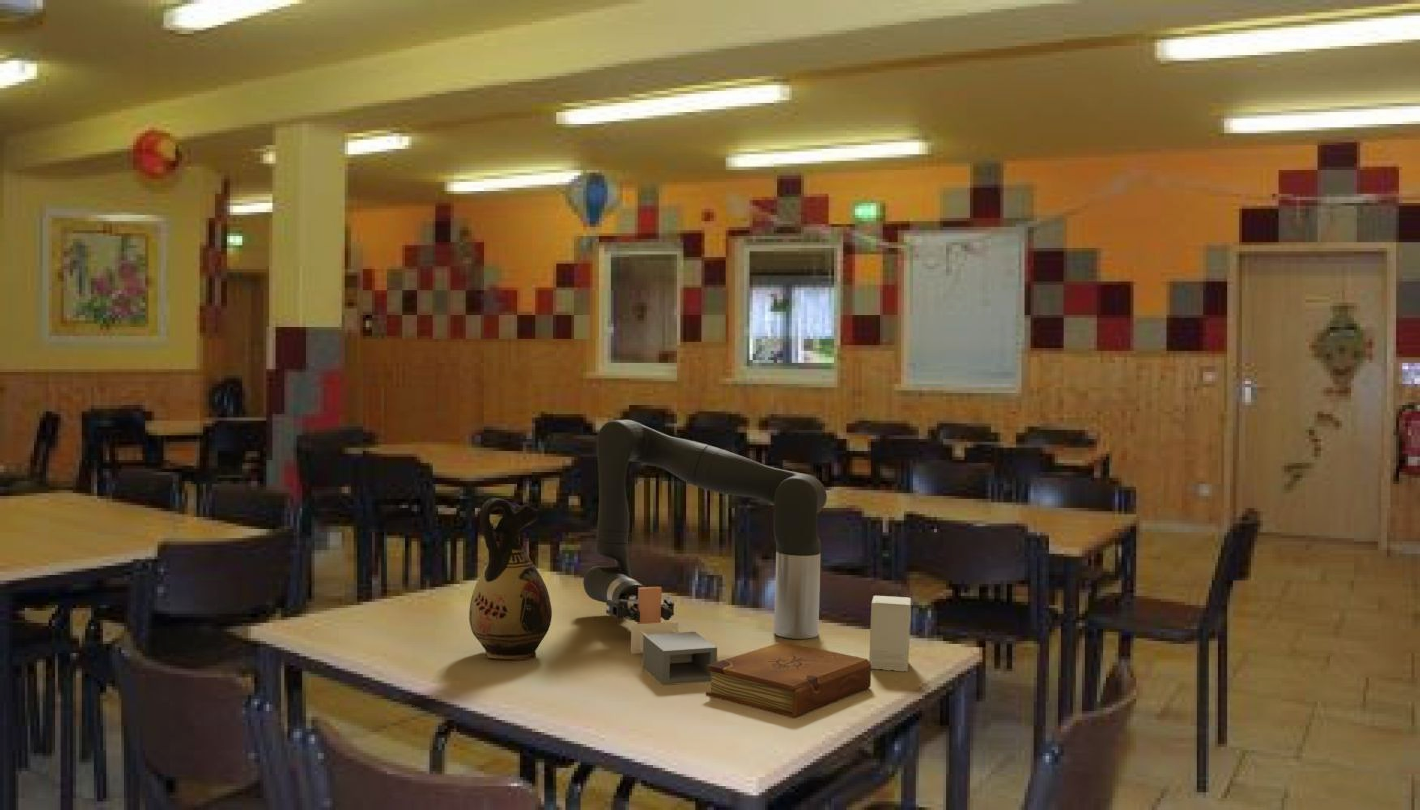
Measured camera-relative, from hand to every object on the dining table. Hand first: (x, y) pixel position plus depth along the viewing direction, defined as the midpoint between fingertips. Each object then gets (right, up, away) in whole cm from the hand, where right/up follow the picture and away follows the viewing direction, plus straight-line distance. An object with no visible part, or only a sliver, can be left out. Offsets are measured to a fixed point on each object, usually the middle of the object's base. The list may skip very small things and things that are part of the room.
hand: (653, 616), depth 225 cm
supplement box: (+45, -9, -5) cm, 46 cm away
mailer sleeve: (+5, -8, -15) cm, 17 cm away
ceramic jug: (-28, -7, -5) cm, 29 cm away
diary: (+25, -9, -24) cm, 36 cm away
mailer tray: (+2, -7, -5) cm, 8 cm away
